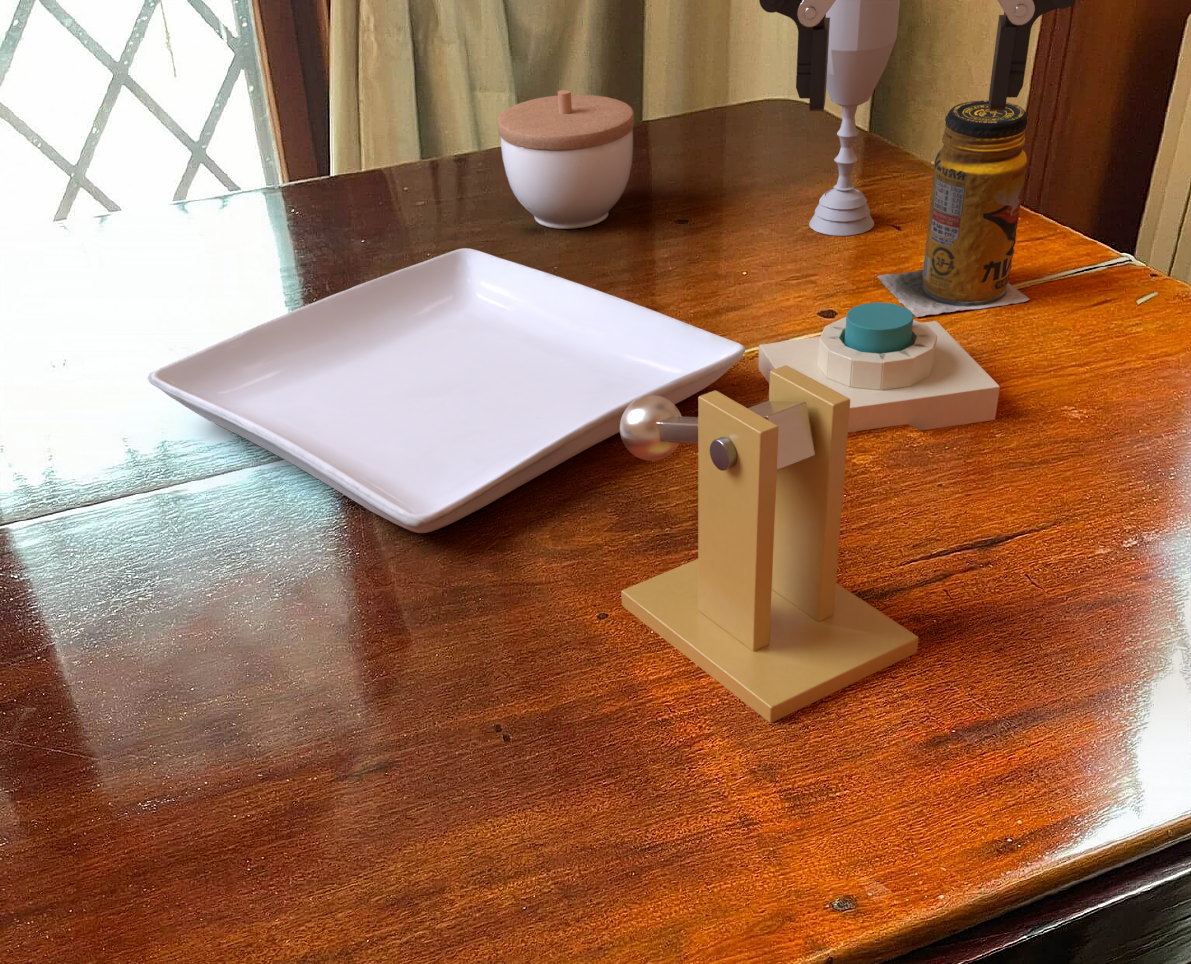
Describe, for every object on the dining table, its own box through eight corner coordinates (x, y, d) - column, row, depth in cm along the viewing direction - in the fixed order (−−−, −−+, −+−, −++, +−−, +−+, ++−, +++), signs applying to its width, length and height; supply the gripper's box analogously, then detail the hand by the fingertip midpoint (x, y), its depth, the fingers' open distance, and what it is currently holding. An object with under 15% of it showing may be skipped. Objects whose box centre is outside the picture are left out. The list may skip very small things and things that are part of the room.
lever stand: (621, 614, 72) (611, 379, 63) (759, 556, 75) (767, 325, 67) (769, 733, 64) (781, 483, 56) (916, 662, 68) (948, 416, 59)
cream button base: (932, 352, 93) (939, 293, 90) (995, 420, 85) (1004, 357, 83) (757, 376, 91) (759, 317, 89) (805, 447, 84) (809, 385, 81)
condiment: (1030, 302, 98) (1059, 119, 90) (916, 319, 97) (935, 135, 89) (984, 264, 103) (1008, 88, 95) (876, 280, 102) (891, 103, 94)
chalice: (834, 247, 107) (851, -20, 95) (777, 223, 111) (787, -35, 99) (906, 224, 110) (932, -38, 98) (848, 201, 114) (866, -52, 102)
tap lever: (616, 467, 72) (601, 405, 71) (666, 448, 73) (653, 387, 72) (770, 483, 61) (756, 410, 60) (826, 461, 62) (814, 389, 61)
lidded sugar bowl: (651, 229, 112) (648, 103, 105) (519, 247, 110) (509, 120, 104) (619, 186, 120) (614, 66, 113) (495, 202, 118) (484, 81, 112)
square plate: (152, 426, 90) (136, 368, 88) (471, 292, 104) (465, 239, 101) (423, 577, 75) (413, 513, 73) (753, 397, 89) (754, 338, 87)
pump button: (896, 326, 88) (899, 298, 86) (920, 352, 85) (923, 324, 84) (835, 334, 87) (837, 307, 86) (857, 361, 84) (859, 333, 83)
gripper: (1116, -334, 59) (1052, 84, 70) (776, -317, 61) (764, 85, 72) (1136, -319, 53) (1062, 132, 64) (761, -301, 56) (751, 131, 67)
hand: (905, 107), depth 68 cm, fingers open, 8 cm apart
